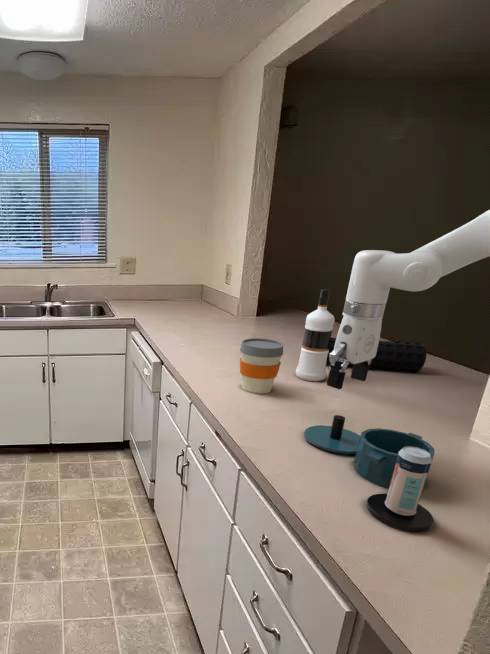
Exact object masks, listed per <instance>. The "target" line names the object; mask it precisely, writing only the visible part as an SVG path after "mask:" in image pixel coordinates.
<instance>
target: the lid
mask: <svg viewBox="0 0 490 654" xmlns="http://www.w3.org/2000/svg"><path fill="white" fill-rule="evenodd" d="M345 421H346V417H345V416H343V415H339V414H335V415H333V419H332V424H331V425H312V426H309V427H307V428H306V429H304V431H303V436H304V439H305V440H306V441H307V442H308V443H310V444H312V445H313V446H315V447H317V448H318V449H322V450H325V451H328V452H332V453H336V454H345V455H356V452H357V448H358V444H359V440H360V436H361V434H358V433H356V432H354V431H352V430H349V429H346V428H345V427H344V426H345Z"/></svg>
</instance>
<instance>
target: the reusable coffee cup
mask: <svg viewBox="0 0 490 654" xmlns="http://www.w3.org/2000/svg"><path fill="white" fill-rule="evenodd" d="M239 352H240V357H239V374H240V375H241V376H240V378H241V379H240V380H241V389H243V390H244V391H246V392H249V393H254V394H268V393H270V392H271V391H272V388H273V385H274V382H275V378H277V377H278V373H279V371H280V367H281V358H282V357H283V355H284V343H282V342H280V341H277V340H274V339H269V338H258V337H255V338H253V337H252V338H246V339H243V340H242V341H241V344H240V349H239Z"/></svg>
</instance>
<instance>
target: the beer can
mask: <svg viewBox="0 0 490 654" xmlns="http://www.w3.org/2000/svg"><path fill="white" fill-rule="evenodd" d="M398 454H399V455H398V458H397V462H396V465H395V469H394V473H393V476H392V480H391V484H390V487H389V488H388V491H387V493H386V494H387V498H386V501H385V505H386V506H387V508H389V509H390V510H391V511H393V512H394V513H397V514H399V515H404V516H411V515H414V514H416V510H417V506H418V504H419V503H420V500H421V497H422V493H423V490H424V486H425V484H426V483H425V481H426V482H427V479H426V477H427V478H428V476H427V474H428V475H429V473H428V471H429V472H430V470H429V468H431V467H430V464H431V465H432V464H433V460H432V458H431V456H430V453H428V452H427V451H426V450H423V449H420V448H418V447H411V446H408V447H404V448H403V449H401V450H400V451H399V453H398Z"/></svg>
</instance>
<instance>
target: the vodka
mask: <svg viewBox="0 0 490 654" xmlns="http://www.w3.org/2000/svg"><path fill="white" fill-rule="evenodd" d="M330 292H331V290H330V289H327V288H323V289H320V294H319V299H318V305H317V308H316V309H315V310H313V311H311V312H309V313H308V314H307V316H306V318H305V325H304V331H303V332H304V333H303V338H302V343H301V344H302V345H301V347H300V354H299V355H300V356H299V360H298V362H297V363H298V364H297V367H296V370H295V376H296V377H297V378H298V379H301V380H302V381H307V382H321V381H323V380H325V378H326V375H327V364H326V360H327V355H328V352H329V344H330V339H331V338H332V334H333V330H334V325H335V321H336V319H335V316H334V315H333V314H332V313H331V312H330V311H329V310H327V309H328V302H329V298H330Z"/></svg>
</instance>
